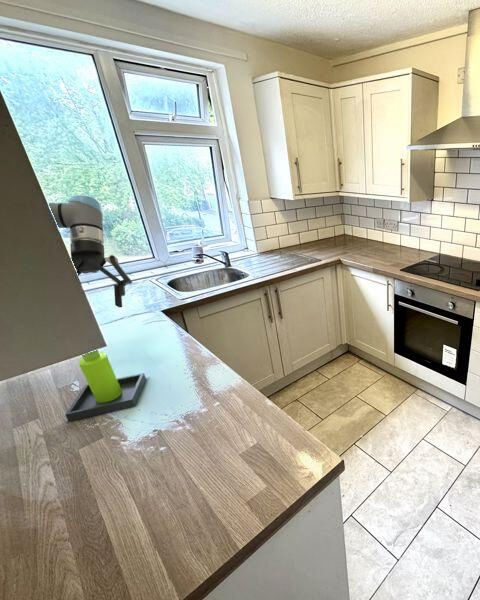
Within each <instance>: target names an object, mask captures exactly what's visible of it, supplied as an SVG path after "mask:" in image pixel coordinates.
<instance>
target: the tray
mask: <svg viewBox="0 0 480 600" xmlns="http://www.w3.org/2000/svg"><path fill="white" fill-rule="evenodd" d="M116 378H117V381H118V383H119V385H120V388H121V390H122V394H121V395H120V396H119V397H117V398H116V399H114V400H112V401H109V402H105V403H98V402H97V401H96V399H95V397H94V395H93V393H92V391H91V389H90V386H89V384H88V383H87V384H85V385H84V386H83V387H82V389H81V390H80V391H79V393H78V395H77V396H76V398H75V399H74V400H73V402H72V403H71V405H70V407H69V409H67V411H66V413H64V416H65V417H66V419H67V422H73V421H77V420H82V419H86V418H90V417H94V416H98V415H104V414H108V413H111V412H116V411H120V410H125V409H130V408H133V407H135V406H136V405H137V403H138V400H139V397H140V395H141V393H142V390H143V388H144V386H145V383H146V381H147V378H146V374H145V373H144V372H142V373H137V374H132V375H127V376H123V377H116Z"/></svg>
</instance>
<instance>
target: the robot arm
mask: <svg viewBox="0 0 480 600" xmlns="http://www.w3.org/2000/svg"><path fill="white" fill-rule="evenodd" d="M48 203H49V206H50V208H51V211H52V213H53V215H54V217H55V220H56V222H57V225H58V227H59V228H58V229H69V233H70V234H69V239H70V240H69V241H70V259H72V261H73V263H74V266H75V268H76V270H75V271H77V273H78V276H77V277H80V275H81V274H90V273H94V274H96V273H98V272H101V273H103V274H104V275H106V277H108V278H109V279H111V280H112V281H113V282H114V283H116V284H113V288H114V289H113V292H114V305H115V306H116V307H117V308H123V300H122V299H123V297H124V296H126V286H127V285H131V284H133V281H132V280H131V278H130V277H129V276H128V274H127V273H126V272H125V270H124V269H123V268H122V266H121V265H120V263H119V259H118V258H117V257H116V256H115V255H114V254H111V255H109V256H107V257H105V245H104V244H105V239H104V225H103V224H104V223H103V222H104V221H103V220H104V219H103V216H104V214H103V208H102V203H101V201H99V200H98V199H97V198H95V197H93V196H90V195H85V194H76V195H72V196H70V197H69V198H68V201H67V202H48ZM107 263H108V264H110V265H112V267H113V268H114V269H115V271H116V272H117V273H118V274H119V276H120V277H121V278H122V279H119V278H118V277H117V276H116V275H114V274H113V273H111V272H110V271H109V270H108V269H106V268H105V267H104V266H105V265H106V264H107Z"/></svg>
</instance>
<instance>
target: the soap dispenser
mask: <svg viewBox="0 0 480 600" xmlns="http://www.w3.org/2000/svg"><path fill="white" fill-rule="evenodd" d="M81 357H82V358H81V359H80V360H79V361H78V365H79V368H80V370H81V371H82V374H83V376H84V378H85V380H86V382H87V384H89V386H90V389H91V391H92V393H93V395H94V397H95V399H96V401H97V402H98V403H105V402H109V401H112V400H114V399H116V398H117V397H119V396H120V395H121V394H122V390H121V388H120V385H119V383H118V381H117V378H118V377H117V376H116V374H115V371H114V369H113V366H112V364H111V362H110V360H109V357H108V355H107V354H106V353H105V352H100V351H99V349H98V350H96V351H93V352H90V353H87V354H85V355H81Z"/></svg>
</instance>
